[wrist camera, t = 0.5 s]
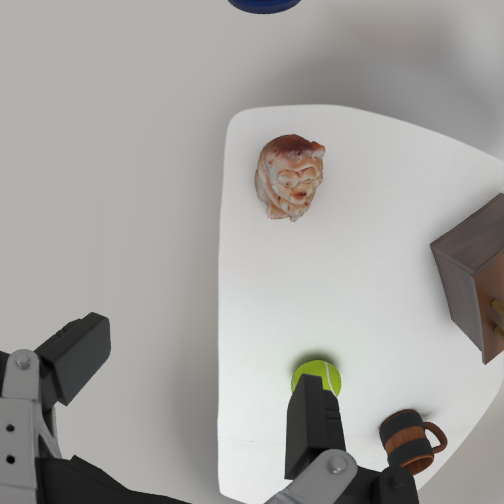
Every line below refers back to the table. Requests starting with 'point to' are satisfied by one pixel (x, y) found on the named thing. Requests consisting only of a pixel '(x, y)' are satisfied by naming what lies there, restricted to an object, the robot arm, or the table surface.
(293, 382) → the tennis ball
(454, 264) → the chest
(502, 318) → the lid
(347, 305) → the table surface
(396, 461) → the mug
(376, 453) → the table surface
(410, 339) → the table surface
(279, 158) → the figurine
